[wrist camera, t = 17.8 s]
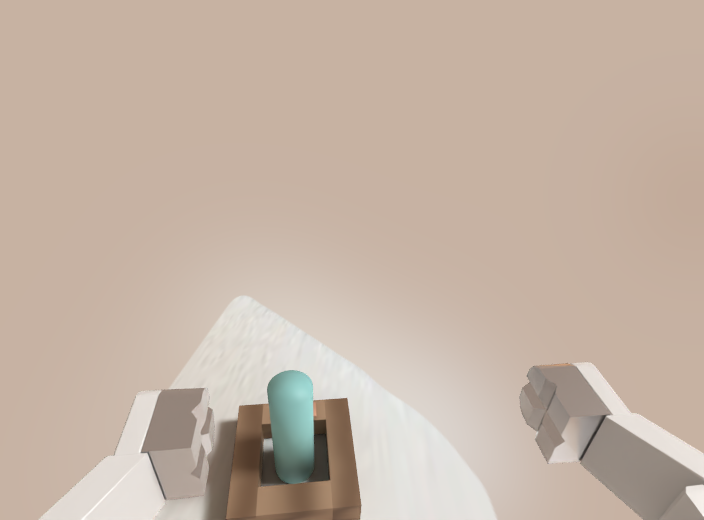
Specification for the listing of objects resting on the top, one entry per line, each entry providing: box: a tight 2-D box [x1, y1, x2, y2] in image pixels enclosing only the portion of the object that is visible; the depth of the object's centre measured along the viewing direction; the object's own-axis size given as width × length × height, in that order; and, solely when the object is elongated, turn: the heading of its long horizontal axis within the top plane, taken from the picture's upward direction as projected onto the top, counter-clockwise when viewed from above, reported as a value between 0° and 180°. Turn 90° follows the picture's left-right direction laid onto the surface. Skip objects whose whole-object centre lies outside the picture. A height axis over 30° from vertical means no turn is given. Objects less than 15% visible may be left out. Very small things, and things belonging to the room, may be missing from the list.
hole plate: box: [226, 398, 361, 520], centre depth 44 cm, size 12×12×3 cm
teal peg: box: [267, 370, 314, 484], centre depth 42 cm, size 4×4×12 cm
